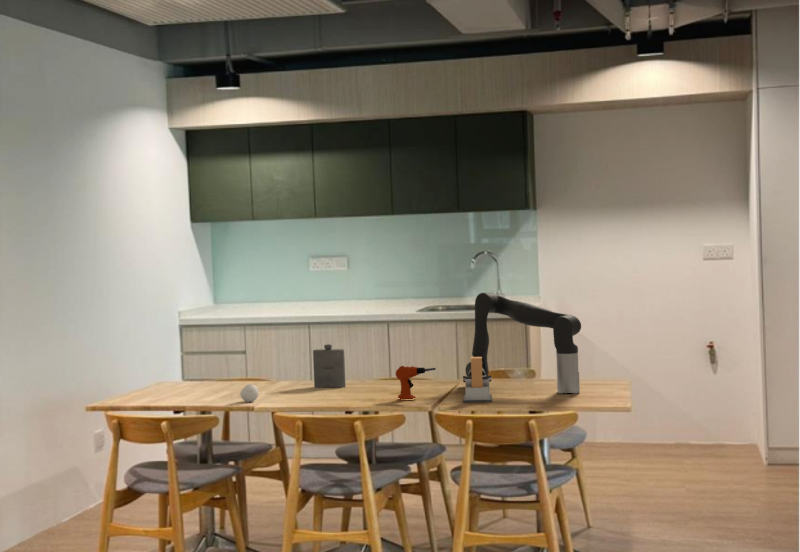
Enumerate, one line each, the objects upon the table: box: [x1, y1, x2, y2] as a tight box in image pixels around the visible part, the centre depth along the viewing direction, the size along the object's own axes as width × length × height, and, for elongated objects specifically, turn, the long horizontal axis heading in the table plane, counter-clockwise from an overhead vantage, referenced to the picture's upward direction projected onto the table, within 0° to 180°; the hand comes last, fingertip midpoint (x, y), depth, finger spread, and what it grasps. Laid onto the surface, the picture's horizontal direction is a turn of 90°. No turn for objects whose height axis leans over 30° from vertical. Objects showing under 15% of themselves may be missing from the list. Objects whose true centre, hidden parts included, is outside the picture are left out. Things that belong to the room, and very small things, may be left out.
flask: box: [312, 343, 346, 389], centre depth 499 cm, size 15×6×20 cm, turn 78°
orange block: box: [470, 356, 483, 387], centre depth 447 cm, size 4×4×17 cm
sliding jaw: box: [464, 379, 490, 388], centre depth 451 cm, size 10×3×7 cm, turn 86°
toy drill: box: [395, 365, 437, 399], centre depth 454 cm, size 5×19×15 cm, turn 70°
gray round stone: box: [239, 383, 259, 403], centre depth 464 cm, size 8×8×8 cm
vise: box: [462, 386, 493, 404], centre depth 449 cm, size 12×14×6 cm
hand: (477, 381), depth 453 cm, fingers closed
